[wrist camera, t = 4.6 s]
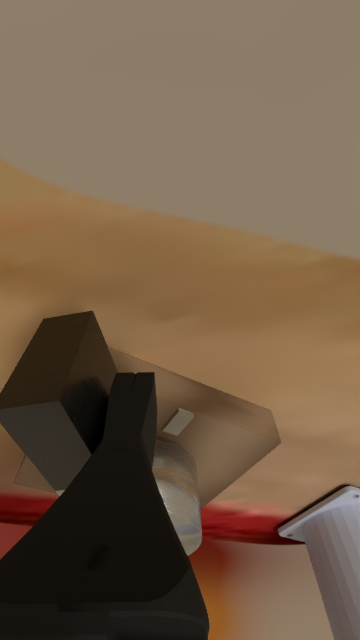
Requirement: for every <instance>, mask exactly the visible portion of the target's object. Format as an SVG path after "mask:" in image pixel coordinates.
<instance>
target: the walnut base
mask: <svg viewBox="0 0 360 640" xmlns="http://www.w3.org/2000/svg"><path fill="white" fill-rule="evenodd" d="M108 349H109V352H110V354H111V356H112V359H113V361H114V364H115V366H116V369H117V371H118V373H126V372H133V373H135V374H136V373H138V372H155V385H156V398H157V435H156V438H159V439H164V440H167V441H170V442H173V443H175V444H177V445H179V446H181V447H182V448H184V449H185V450H187V451H188V452H189V453H190V454H191V455H192V456H193V458H194V459H195V461H196V464H197V470H198V485H199V500H200V509H202V508H203V507H204V506H205V505H206V504H208V503H209V502H210V501H211V500H212V499H214V498H215V497H216V496H217V495H218V494H220V493H221V492H222V491H223V490H225V489H226V488H227V487H228V486H229V485H231V484H232V483H233V482H234V481H235V480H237V479H238V478H239V477H240V476H242V475H243V474H244V473H245V472H246V471H248V470H249V469H250V468H251V467H252V466H254V465H255V464H256V463H257V462H259V461H260V460H261V459H262V458H263V457H265V456H266V455H267V454H268V453H269V452H271V451H272V450H273V449H274V448H276V447H277V446H278V445H279V444H280V443H281V440H280V437H279V434H278V431H277V427H276V424H275V421H274V418H273V415H272V412H271V411H270V410H268V409H265V408H262V407H260V406H257V405H255V404H252V403H250V402H247V401H244V400H242V399H239V398H237V397H234V396H232V395H229V394H226V393H224V392H221V391H219V390H216V389H214V388H211V387H208V386H206V385H203V384H201V383H198V382H196V381H193V380H190V379H188V378H185V377H183V376H180V375H178V374H175V373H172V372H170V371H167V370H165V369H162V368H160V367H157V366H154V365H152V364H149V363H147V362H144V361H142V360H139V359H136V358H134V357H131V356H129V355H126V354H124V353H121V352H118V351H116V350H113V349H111V348H108ZM14 483H16V484H20V485H24V486H28V487H33V488H37V489H41V490H45V491H50V492H54V493H56V491H55V490H54V489H53V488H52V486H51V485H50V484H49V483H48V481H47V480H46V479H45V478H44V477H43V475H42V474H41V473H40V472H39V470H38V469H37V468H36V467H35V465H34V464H33V463H32V462H31V460H30V459H29V458H28V457H27V455H26V454H25V456H24V459H23V461H22V464H21V466H20V469H19V471H18V473H17V476H16V478H15V481H14Z"/></svg>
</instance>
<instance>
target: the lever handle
mask: <svg viewBox="0 0 360 640" xmlns="http://www.w3.org/2000/svg"><path fill="white" fill-rule="evenodd" d="M116 373H118V371H117V369H116V366H115V364H114V361H113V359H112V356H111V354H110V352H109V349H108V347H107V344H106V342H105V339H104V337H103V335H102V332H101V330H100V327H99V325H98V322H97V320H96V317H95V315H94V313H93V311H88V312H82V313H76V314H70V315H64V316H58V317H52V318H47V319H43V321H42V323H41V324H40V326H39V328H38V330H37V331H36V333H35V335H34V336H33V338H32V340H31V342H30V343H29V345H28V347H27V348H26V350H25V352H24V354H23V355H22V357H21V359H20V361H19V362H18V364H17V366H16V367H15V369H14V371H13V373H12V374H11V376H10V378H9V379H8V381H7V383H6V385H5V386H4V388H3V390H2V392H1V393H0V423H1V424H2V426H3V427H4V428H5V429H6V431H7V432H8V433H9V434H10V436H11V437H12V438H13V439H14V441H15V442H16V443H17V444H18V446H19V447H20V448H21V449H22V451H23V452H24V453H25V454H26V455H27V457H28V458H29V459H30V460H31V462H32V463H33V464H34V465H35V467H36V468H37V469H38V470H39V472H40V473H41V474H42V475H43V477H44V478H45V479H46V480H47V481H48V483H49V484H50V485H51V486H52V488H53V489H54V490H55V491H56V493H57V494H58V495H59V496H60V495H61V494H62V493H63V492H64V491H65V489H66V488H67V487H68V486H69V484H70V483H71V482H72V481H73V479H74V478H75V477H76V475H77V474H78V473H79V472H80V470H81V469H82V468H83V466H84V465H85V463H86V462H87V461H88V459H89V458H90V456H91V455H92V454H93V452H94V451H95V449H96V448H97V446H98V445H99V443H100V442H101V440H102V438H103V435H104V429H105V422H106V415H107V409H108V402H109V395H110V389H111V386H112V383H113V380H114V377H115V375H116ZM152 472H153V474H154V477H155V480H156V483H157V486H158V489H159V491H160V494H161V496H162V499H163V501H164V504H165V506H166V509H167V512H168V514H169V516H170V519H171V521H172V523H173V526H174V528H175V530H176V533H177V535H178V537H179V539H180V541H181V544H182V546H183V548H184V550H185V552H186V554H187V556H188V555H190V554H191V553H193V552H194V551H195V550H196V549H197V548H198V547H199V546H200V544H201V541H202V530H201V515H200V500H199V485H198V470H197V464H196V461H195V459H194V458H193V456H192V455H191V454H190V453H189V452H188V451H187V450H185V449H184V448H182V447H181V446H179V445H177V444H175V443H173V442H170V441H167V440H164V439H159V438H156V444H155V451H154V459H153V466H152Z"/></svg>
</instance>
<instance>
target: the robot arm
mask: <svg viewBox="0 0 360 640" xmlns="http://www.w3.org/2000/svg"><path fill="white" fill-rule="evenodd" d="M156 435H157V398H156V385H155V372H138V373H136V374H135V373H133V372H126V373H116V375H115V377H114V380H113V383H112V386H111V389H110V395H109V402H108V409H107V415H106V422H105V429H104V435H103V438H102V440H101V442H100V443H99V445H98V446H97V448H96V449H95V451H94V452H93V454H92V455H91V456H90V458H89V459H88V461H87V462H86V463H85V465H84V466H83V468H82V469H81V470H80V472H79V473H78V474H77V475H76V477H75V478H74V479H73V481H72V482H71V483H70V484H69V486H68V487H67V488H66V489H65V491H64V492H63V493H62V494H61V495H60V497H59V498H58V499H57V500H56V501H55V502H54V504H53V505H52V506H51V507H50V508H49V509H48V510H47V511H46V513H45V514H44V515H43V516H42V517H41V518H40V519H39V520H38V521H37V523H36V524H35V525H34V526H33V527H32V528H31V529H30V530H29V531H28V532H27V533H26V534H25V535H24V536H23V537H22V538H21V540H19V541H18V542H17V543H16V544H15V545H14V546H13V547H12V549H10V550H9V551H8V552H7V553H6V554H5V555H4V556H3V558H1V560H0V640H208V632H209V619H208V614H207V610H206V607H205V604H204V601H203V598H202V595H201V591H200V589H199V586H198V583H197V580H196V577H195V575H194V572H193V569H192V566H191V563H190V561H189V558H188V556H187V554H186V552H185V550H184V548H183V546H182V544H181V541H180V539H179V537H178V535H177V533H176V530H175V528H174V526H173V523H172V521H171V519H170V516H169V514H168V512H167V509H166V506H165V504H164V501H163V499H162V496H161V494H160V491H159V489H158V486H157V483H156V480H155V477H154V474H153V472H152V466H153V459H154V451H155V444H156ZM278 533H279V535H280V536H282V537H286V538H290V539H294V540H298V541H302V542H305V543H306V546H307V549H308V552H309V556H310V560H311V562H312V566H313V570H314V573H315V576H316V580H317V583H318V586H319V590H320V593H321V596H322V600H323V603H324V606H325V610H326V613H327V616H328V619H329V623H330V626H331V630H332V633H333V636H334V640H360V489H359V488H356V487H353V486H347V487H344V488H342V489H341V490H339V491H337V492H336V493H334V494H333V495H331V496H329V497H328V498H326V499H325V500H323V501H321V502H320V503H318V504H317V505H315V506H313V507H312V508H310V509H309V510H307V511H305V512H304V513H302V514H301V515H299V516H297V517H296V518H294V519H293V520H291V521H289V522H288V523H286V524H285V525H283V526H281V527H280V528H279V529H278Z"/></svg>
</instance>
